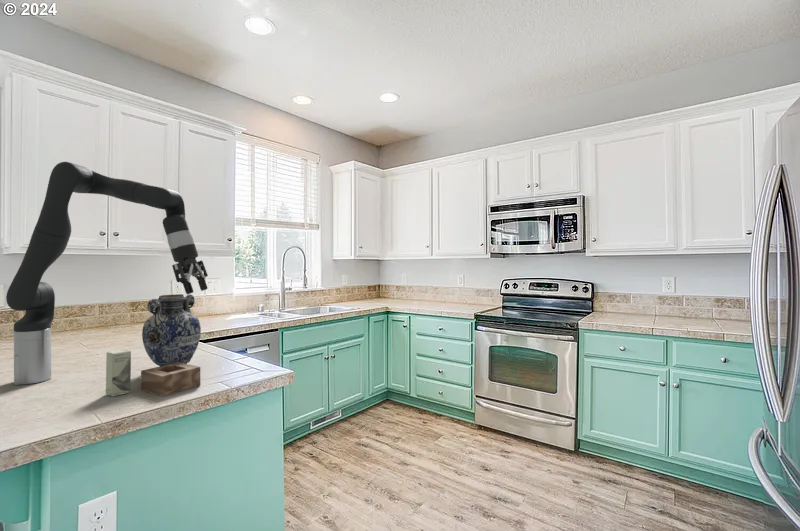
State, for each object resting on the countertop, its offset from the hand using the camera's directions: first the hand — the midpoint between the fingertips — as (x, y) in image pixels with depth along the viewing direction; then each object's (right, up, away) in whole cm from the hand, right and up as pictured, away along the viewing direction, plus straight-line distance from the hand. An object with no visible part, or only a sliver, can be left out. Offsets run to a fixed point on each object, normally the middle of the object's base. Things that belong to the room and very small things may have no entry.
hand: (197, 291), depth 135 cm
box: (-17, -30, -14) cm, 37 cm away
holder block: (-4, -30, -9) cm, 31 cm away
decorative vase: (-14, -30, +11) cm, 35 cm away
